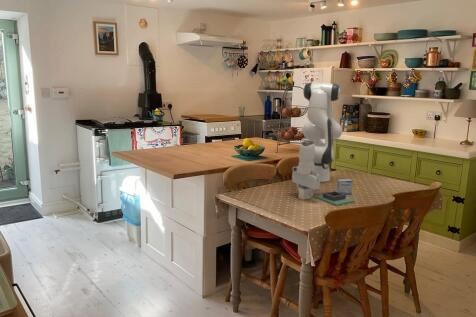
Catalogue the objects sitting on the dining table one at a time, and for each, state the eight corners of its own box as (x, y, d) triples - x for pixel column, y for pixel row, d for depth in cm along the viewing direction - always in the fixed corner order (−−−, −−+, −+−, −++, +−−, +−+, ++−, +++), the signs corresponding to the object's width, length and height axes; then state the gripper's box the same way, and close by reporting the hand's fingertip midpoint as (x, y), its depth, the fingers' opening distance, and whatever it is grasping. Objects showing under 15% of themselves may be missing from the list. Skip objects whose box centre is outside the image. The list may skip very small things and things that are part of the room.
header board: (313, 197, 225) (314, 191, 225) (331, 194, 232) (332, 188, 232) (336, 206, 210) (336, 199, 210) (354, 202, 217) (355, 196, 217)
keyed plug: (298, 197, 225) (299, 186, 223) (306, 196, 228) (307, 185, 226) (303, 199, 221) (303, 188, 220) (311, 198, 224) (311, 186, 223)
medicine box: (339, 195, 231) (340, 181, 229) (336, 193, 235) (336, 179, 233) (351, 194, 232) (352, 180, 230) (348, 192, 236) (349, 178, 235)
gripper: (323, 173, 214) (321, 197, 217) (299, 166, 231) (298, 188, 234) (314, 174, 211) (313, 199, 214) (290, 167, 228) (289, 189, 231)
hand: (305, 193), depth 224 cm, fingers open, 8 cm apart
